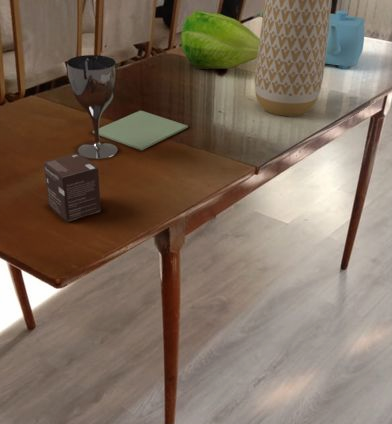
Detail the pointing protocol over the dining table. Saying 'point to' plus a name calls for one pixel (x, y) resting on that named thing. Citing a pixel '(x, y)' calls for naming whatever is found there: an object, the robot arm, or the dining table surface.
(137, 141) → the mat
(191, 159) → the dining table surface
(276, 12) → the vase
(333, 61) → the teapot
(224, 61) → the lettuce
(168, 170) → the dining table surface
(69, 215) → the box
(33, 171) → the dining table surface
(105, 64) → the wine glass
